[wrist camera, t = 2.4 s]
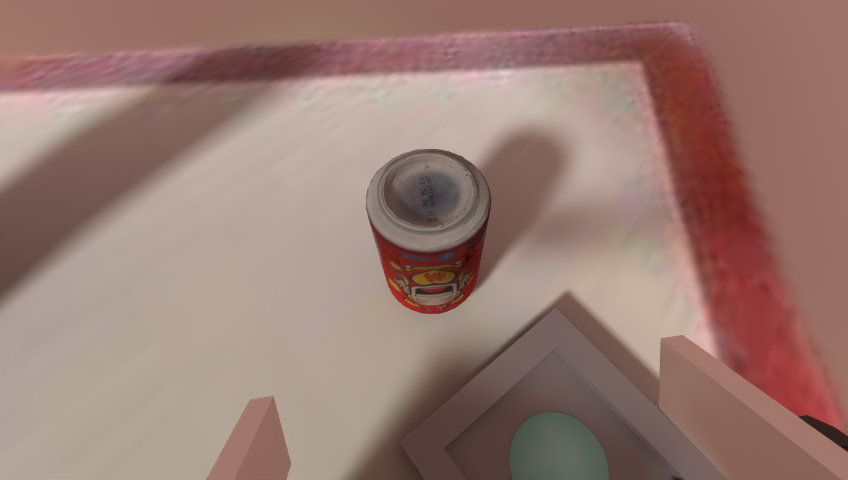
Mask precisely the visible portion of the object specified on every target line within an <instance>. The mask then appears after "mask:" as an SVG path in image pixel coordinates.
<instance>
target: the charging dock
mask: <svg viewBox="0 0 848 480" xmlns="http://www.w3.org/2000/svg"><path fill="white" fill-rule="evenodd" d="M399 443H400V445H401V446H402V448H403V449H404V451H405V452H406V454H407V455H408V457H409V458H410V460H411V461H412V462H413V464H414V465H415V467H416V468H417V470H418V471H419V473H420V474H421V476H422V477H423V479H424V480H727V479H726V478H725V477H724V476H723V474H722V473H721V472H720V471H719V470H718V469H717V468H716V467H715V466H714V465H713V464H712V463H711V462H710V461H709V460H708V459H707V458H706V457H705V456H704V455H703V453H702V452H701V451H700V450H699V449H698V448H697V447H696V446H695V445H694V444H693V443H692V442H691V441H690V440H689V439H688V438H687V437H686V436H685V435H684V433H682V432H681V431H680V430H679V429H678V428H677V427H676V426H675V425H674V424H673V423H672V422H671V421H670V420H669V419H668V418H667V417H666V416H665V415H664V414H663V413H662V412H661V411H660V410H659V409H658V408H657V407H656V406H655V405H654V404H653V403H652V402H651V401H650V400H649V399H648V398H647V397H646V396H645V395H644V394H643V393H642V392H641V391H640V390H639V389H638V388H637V387H636V386H635V385H634V384H633V383H632V382H631V381H630V380H629V379H628V378H627V377H626V376H625V375H624V374H623V373H622V372H621V371H620V370H619V369H618V368H617V367H616V366H615V365H614V364H613V363H612V362H611V361H610V360H609V359H608V358H607V357H606V356H605V355H604V354H603V353H602V352H601V351H600V350H599V349H598V348H597V347H596V346H595V345H594V344H592V343H591V342H590V341H589V340H588V339H587V338H586V337H585V336H584V335H583V334H582V333H581V332H580V331H579V330H578V329H577V328H576V327H575V326H574V325H573V324H572V323H571V322H570V321H569V320H568V319H567V318H566V317H565V316H564V315H563V314H562V313H561V312H560V311H559V310H558V309H557V308H554V309H553V310H552V311H551V312H550V313H549V314H547V315H546V316H545V317H544V318H543V319H542V320H540V321H539V322H538V323H537V324H536V325H535V326H533V327H532V328H531V329H530V330H529V331H528V332H526V333H525V334H524V335H523V336H522V337H521V338H519V339H518V340H517V341H516V342H515V343H514V344H513V345H511V346H510V347H509V348H508V349H507V350H506V351H504V352H503V353H502V354H501V355H500V356H499V357H497V358H496V359H495V360H494V361H493V362H492V363H490V364H489V365H488V366H487V367H486V368H485V369H483V370H482V371H481V372H480V373H479V374H478V375H476V376H475V377H474V378H473V379H472V380H471V381H469V382H468V383H467V384H466V385H465V386H464V387H463V388H461V389H460V390H459V391H458V392H457V393H456V394H454V395H453V396H452V397H451V398H450V399H449V400H447V401H446V402H445V403H444V404H443V405H442V406H440V407H439V408H438V409H437V410H436V411H435V412H433V413H432V414H431V415H430V416H429V417H428V418H426V419H425V420H424V421H423V422H422V423H421V424H419V425H418V426H417V427H416V428H415V429H414V430H413V431H411V432H410V433H409V434H408V435H407V436H406V437H404V438H403V439H402V440H401V441H400V442H399Z"/></svg>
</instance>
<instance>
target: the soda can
mask: <svg viewBox="0 0 848 480" xmlns="http://www.w3.org/2000/svg"><path fill="white" fill-rule="evenodd" d="M490 207H491V196H490V191H489V187H488V184H487V182H486V180H485V178H484V177H483V175H482V173H481V172H480V171H479V170H478V169H477V168H476V167H475V166H474V165H473V164H472V163H471V162H469V161H468V160H466V159H464V158H463V157H462V156H459V155H456V154H454V153H451V152H449V151H444V150H439V149H424V150H414V151H411V152H407V153H404V154H401V155H399V156H397V157H395V158H393V159H391V160H390V161H389V162H388V163H386V164H385V165H384V166H383V167H382V168H381V169H379V170H378V171H377V172H376V174H375V175H374V177H373V179H372V180H371V183H370V186H369V188H368V190H367V196H366V210H367V213H368V217H369V221H370V225H371V228H372V232H373V235H374V239H375V242H376V246H377V249H378V252H379V256H380V260H381V263H382V266H383V270H384V273H385V277H386V280H387V283H388V286H389V288H390V290H391V292H392V294H393V295H394V296H395V298H396V299H397V300H398V301H399V302H400V303H401V304H403V305H404V306H405V307H407V308H409V309H411V310H414V311H417V312H420V313H426V314H439V313H444V312H447V311H449V310H451V309H454V308H456V307H457V306H459V305H460V304H461V303H462V302H464V301H465V300H466V299H467V298H468V296H469V295H470V294H471V292H472V290H473V288H474V286H475V284H476V280H477V276H478V270H479V265H480V260H481V254H482V249H483V244H484V238H485V233H486V229H487V223H488V219H489V214H490Z"/></svg>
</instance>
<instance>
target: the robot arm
mask: <svg viewBox="0 0 848 480" xmlns="http://www.w3.org/2000/svg"><path fill="white" fill-rule="evenodd" d="M659 408H660V409H661V410H662V411H663V412H664V414H665V415H666V416H667V417H668V418H669V419H670V420H671V421H672V422H673V423H674V424H675V425H676V426H677V427H678V428H679V429H680V430H681V431H682V432H683V433H684V435H685V436H686V437H687V438H688V439H689V440H690V441H691V442H692V443H693V444H694V445H695V446H696V447H697V448H698V449H699V450H700V451H701V452H702V453H703V455H704V456H705V457H706V458H707V459H708V460H709V461H710V462H711V463H712V464H713V465H714V466H715V467H716V468H717V469H718V470H719V471H720V472H721V473H722V474H723V476H724V477H725V478H726V479H727V480H848V436H847V435H845V434H844V433H842V432H841V431H839V430H838V429H836V428H835V427H833V426H830V425H828V424H826V423H824V422H821V421H819V420H817V419H815V418H813V417H810V416H808V415H806V416H799V417H797V416H796V415H795V414H793V413H792V412H790V411H789V410H788V409H786V408H785V407H783V406H782V405H781V404H779V403H778V402H776V401H775V400H773V399H772V398H771V397H769V396H768V395H766V394H765V393H764V392H762V391H761V390H759V389H758V388H757V387H755V386H754V385H752V384H751V383H750V382H748V381H747V380H745V379H744V378H742V377H741V376H740V375H738V374H737V373H735V372H734V371H733V370H731V369H730V368H728V367H727V366H726V365H724V364H723V363H721V362H720V361H719V360H717V359H716V358H714V357H713V356H711V355H710V354H709V353H707V352H706V351H704V350H703V349H702V348H700V347H699V346H697V345H696V344H695V343H693V342H692V341H690V340H689V339H688V338H686V337H685V336H683V335H680V336H673V337H667V338H661V348H660V379H659ZM290 466H291V461H290V457H289V454H288V450H287V446H286V442H285V438H284V435H283V431H282V427H281V423H280V419H279V415H278V412H277V408H276V404H275V400H274V396H271V397H265V398H258V399H251V400H250V401H249V403H248V404H247V406H246V408H245V410H244V412H243V414H242V415H241V417H240V419H239V421H238V423H237V424H236V426H235V428H234V430H233V432H232V434H231V435H230V437H229V439H228V441H227V443H226V444H225V446H224V448H223V450H222V452H221V453H220V455H219V457H218V459H217V461H216V463H215V464H214V466H213V468H212V470H211V472H210V473H209V475H208V477H207V479H206V480H286V479H287V476H288V472H289V469H290Z"/></svg>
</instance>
